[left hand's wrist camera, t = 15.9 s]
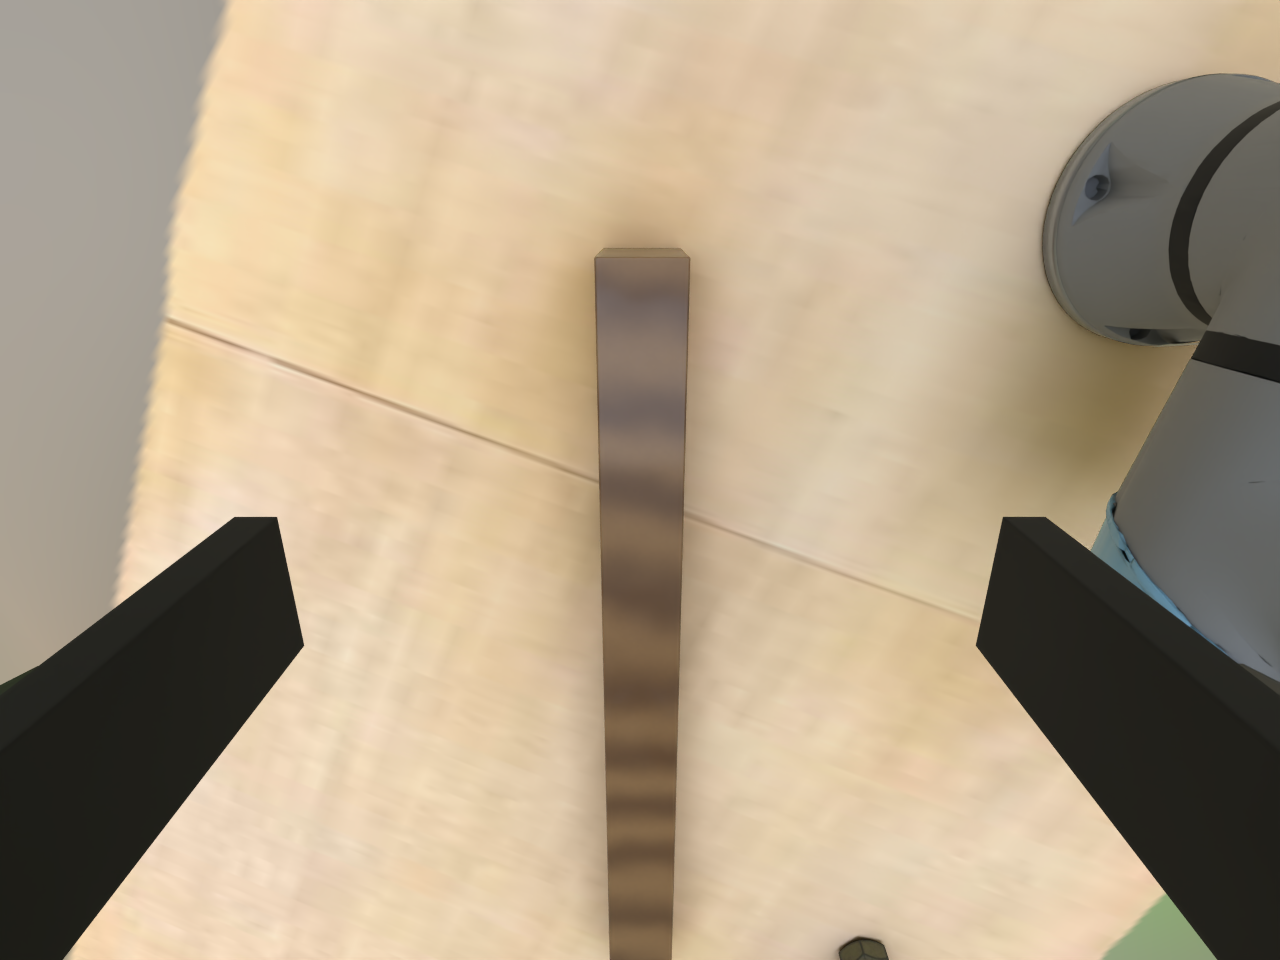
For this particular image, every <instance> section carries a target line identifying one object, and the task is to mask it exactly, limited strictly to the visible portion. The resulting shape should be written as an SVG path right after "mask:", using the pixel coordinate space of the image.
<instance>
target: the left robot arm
mask: <svg viewBox="0 0 1280 960" xmlns="http://www.w3.org/2000/svg"><path fill="white" fill-rule="evenodd" d="M1043 259H1044V265H1045V271H1046V275H1047V278H1048V282H1049V284H1050V287H1051V289H1052V291H1053V293H1054V295H1055V297H1056V299H1057V301H1058V302H1059V304H1060V305H1061V306H1062V308H1063V309H1064V310H1065V311H1066V313H1067V314H1068V315H1069V316H1070V317H1071V318H1072V319H1074V320H1075V321H1076V322H1077V323H1078V324H1080V325H1081V326H1083V327H1084V328H1086V329H1087V330H1089V331H1091V332H1093V333H1095V334H1097V335H1100V336H1103V337H1106V338H1109V339H1113V340H1116V341H1120V342H1124V343H1129V344H1134V345H1143V346H1154V347H1163V346H1183V345H1198V346H1197V348H1196V350H1195V352H1194V354H1193V356H1192V357H1191V358H1192V359H1190V360H1189V362H1188V364H1187V366H1186V367H1185V369H1184V371H1183V373H1182V375H1181V377H1180V378H1179V380H1178V382H1177V384H1176V386H1175V388H1174V390H1173V391H1172V393H1171V395H1170V397H1169V399H1168V401H1167V402H1166V404H1165V406H1164V408H1163V410H1162V412H1161V413H1160V415H1159V417H1158V419H1157V421H1156V423H1155V424H1154V426H1153V428H1152V430H1151V432H1150V434H1149V435H1148V437H1147V439H1146V441H1145V443H1144V445H1143V447H1142V448H1141V450H1140V452H1139V454H1138V456H1137V458H1136V459H1135V461H1134V463H1133V465H1132V467H1131V469H1130V470H1129V472H1128V474H1127V476H1126V478H1125V480H1124V481H1123V483H1122V485H1121V487H1120V489H1119V491H1118V492H1116V493H1114V494H1113V495H1112V496H1111V498H1110V500H1109V502H1108V504H1107V508H1106V519H1105V521H1104V523H1103V525H1102V527H1101V530H1100V532H1099V534H1098V536H1097V538H1096V540H1095V542H1094V545H1093V547H1092V549H1091V551H1089V550H1088V549H1087V548H1085V547H1084V546H1083V545H1082V544H1080V543H1079V542H1078V541H1076V540H1075V539H1074V538H1072V537H1071V536H1070V535H1068V534H1067V533H1066V532H1064V531H1063V530H1062V529H1060V528H1059V527H1058V526H1057V525H1055V524H1054V523H1053V522H1051V521H1050V520H1049V519H1047V518H1046V517H1003V520H1002V524H1001V529H1000V534H999V538H998V543H997V548H996V553H995V557H994V562H993V567H992V572H991V576H990V581H989V586H988V591H987V595H986V600H985V605H984V609H983V614H982V619H981V624H980V628H979V633H978V638H977V643H976V646H977V648H978V649H979V650H980V652H981V653H982V654H983V656H984V657H985V658H986V659H987V661H988V662H989V663H990V665H991V666H992V667H993V669H994V670H995V671H996V672H997V674H998V675H999V676H1000V678H1001V679H1002V680H1003V682H1004V683H1005V684H1006V685H1007V687H1008V688H1009V689H1010V691H1011V692H1012V693H1013V695H1014V696H1015V697H1016V698H1017V700H1018V701H1019V702H1020V704H1021V705H1022V706H1023V708H1024V709H1025V710H1026V711H1027V713H1028V714H1029V715H1030V717H1031V718H1032V719H1033V721H1034V722H1035V723H1036V724H1037V726H1038V727H1039V728H1040V730H1041V731H1042V732H1043V734H1044V735H1045V736H1046V737H1047V739H1048V740H1049V741H1050V743H1051V744H1052V745H1053V747H1054V748H1055V749H1056V750H1057V752H1058V753H1059V754H1060V756H1061V757H1062V758H1063V760H1064V761H1065V762H1066V763H1067V765H1068V766H1069V767H1070V769H1071V770H1072V771H1073V773H1074V774H1075V775H1076V776H1077V778H1078V779H1079V780H1080V782H1081V783H1082V784H1083V786H1084V787H1085V788H1086V789H1087V791H1088V792H1089V793H1090V795H1091V796H1092V797H1093V799H1094V800H1095V801H1096V802H1097V804H1098V805H1099V806H1100V808H1101V809H1102V810H1103V812H1104V813H1105V814H1106V816H1107V817H1108V818H1109V819H1110V821H1111V822H1112V823H1113V825H1114V826H1115V827H1116V829H1117V830H1118V831H1119V832H1120V834H1121V835H1122V836H1123V838H1124V839H1125V840H1126V842H1127V843H1128V844H1129V845H1130V847H1131V848H1132V849H1133V851H1134V852H1135V853H1136V855H1137V856H1138V857H1139V858H1140V860H1141V861H1142V862H1143V864H1144V865H1145V866H1146V868H1147V869H1148V870H1149V871H1150V873H1151V874H1152V875H1153V877H1154V878H1155V879H1156V881H1157V882H1158V883H1159V884H1160V886H1161V887H1162V888H1163V890H1164V891H1165V892H1166V894H1167V895H1168V896H1169V897H1170V899H1171V900H1172V901H1173V903H1174V904H1175V905H1176V907H1177V908H1178V909H1179V910H1180V912H1181V913H1182V914H1183V916H1184V917H1185V918H1186V920H1187V921H1188V922H1189V923H1190V925H1191V926H1192V927H1193V929H1194V930H1195V931H1196V932H1197V934H1198V935H1199V936H1200V938H1201V939H1202V940H1203V942H1204V943H1205V944H1206V946H1207V947H1208V948H1209V949H1210V951H1211V952H1212V953H1213V955H1214V956H1215V957H1216V959H1217V960H1280V83H1275V82H1273V81H1271V80H1268V79H1265V78H1262V77H1258V76H1253V75H1246V74H1210V75H1203V76H1198V77H1192V78H1188V79H1184V80H1180V81H1176V82H1172V83H1169V84H1165V85H1162V86H1159V87H1157V88H1154V89H1152V90H1150V91H1147V92H1145V93H1143V94H1141V95H1139V96H1137V97H1136V98H1134V99H1132V100H1131V101H1129V102H1127V103H1126V104H1124V105H1123V106H1121V107H1120V108H1119V109H1117V110H1116V111H1115V112H1113V113H1112V114H1111V115H1109V116H1108V117H1107V118H1106V119H1105V120H1104V121H1103V122H1101V123H1100V124H1099V125H1098V126H1097V127H1096V128H1095V129H1094V130H1093V131H1092V132H1091V133H1090V134H1089V135H1088V137H1087V138H1086V139H1085V140H1084V141H1083V143H1082V144H1081V145H1080V146H1079V148H1078V149H1077V150H1076V152H1075V153H1074V155H1073V156H1072V157H1071V159H1070V160H1069V162H1068V164H1067V165H1066V167H1065V169H1064V170H1063V172H1062V174H1061V176H1060V178H1059V180H1058V182H1057V184H1056V187H1055V189H1054V192H1053V194H1052V197H1051V200H1050V203H1049V207H1048V210H1047V215H1046V219H1045V225H1044V233H1043ZM1195 341H1200V343H1189V342H1195ZM1183 343H1185V344H1183ZM303 646H304V643H303V638H302V633H301V628H300V624H299V619H298V614H297V609H296V605H295V600H294V595H293V591H292V586H291V581H290V576H289V572H288V567H287V562H286V557H285V553H284V548H283V543H282V538H281V534H280V529H279V524H278V520H277V517H234V518H233V519H231V520H230V521H229V522H227V523H226V524H225V525H223V526H222V527H221V528H220V529H218V530H217V531H216V532H214V533H213V534H212V535H210V536H209V537H208V538H206V539H205V540H204V541H202V542H201V543H200V544H198V545H197V546H196V547H195V548H193V549H192V550H191V551H189V552H188V553H187V554H185V555H184V556H183V557H181V558H180V559H179V560H177V561H176V562H175V563H173V564H172V565H171V566H170V567H168V568H167V569H166V570H164V571H163V572H162V573H160V574H159V575H158V576H156V577H155V578H154V579H152V580H151V581H150V582H149V583H147V584H146V585H145V586H143V587H142V588H141V589H139V590H138V591H137V592H135V593H134V594H133V595H131V596H130V597H129V598H127V599H126V600H125V601H124V602H122V603H121V604H120V605H118V606H117V607H116V608H114V609H113V610H112V611H110V612H109V613H108V614H106V615H105V616H104V617H103V618H101V619H100V620H99V621H97V622H96V623H95V624H93V625H92V626H91V627H89V628H88V629H87V630H85V631H84V632H83V633H82V634H80V635H79V636H78V637H76V638H75V639H74V640H72V641H71V642H70V643H68V644H67V645H66V646H64V647H63V648H62V649H60V650H59V651H58V652H57V653H55V654H54V655H53V656H51V657H50V658H49V659H47V660H46V661H45V662H43V663H42V664H41V665H39V666H37V667H35V668H33V669H31V670H29V671H27V672H25V673H23V674H21V675H19V676H17V677H15V678H13V679H12V680H10V681H8V682H6V683H4V684H2V685H0V960H63V959H64V957H65V956H66V955H67V953H68V952H69V951H70V949H71V948H72V947H73V946H74V944H75V943H76V942H77V940H78V939H79V938H80V936H81V935H82V934H83V933H84V931H85V930H86V929H87V927H88V926H89V925H90V923H91V922H92V921H93V920H94V918H95V917H96V916H97V914H98V913H99V912H100V910H101V909H102V908H103V907H104V905H105V904H106V903H107V901H108V900H109V899H110V897H111V896H112V895H113V894H114V892H115V891H116V890H117V888H118V887H119V886H120V884H121V883H122V882H123V881H124V879H125V878H126V877H127V875H128V874H129V873H130V871H131V870H132V869H133V868H134V866H135V865H136V864H137V862H138V861H139V860H140V858H141V857H142V856H143V855H144V853H145V852H146V851H147V849H148V848H149V847H150V845H151V844H152V843H153V842H154V840H155V839H156V838H157V836H158V835H159V834H160V832H161V831H162V830H163V829H164V827H165V826H166V825H167V823H168V822H169V821H170V819H171V818H172V817H173V816H174V814H175V813H176V812H177V810H178V809H179V808H180V806H181V805H182V804H183V802H184V801H185V800H186V799H187V797H188V796H189V795H190V793H191V792H192V791H193V789H194V788H195V787H196V786H197V784H198V783H199V782H200V780H201V779H202V778H203V776H204V775H205V774H206V773H207V771H208V770H209V769H210V767H211V766H212V765H213V763H214V762H215V761H216V760H217V758H218V757H219V756H220V754H221V753H222V752H223V750H224V749H225V748H226V747H227V745H228V744H229V743H230V741H231V740H232V739H233V737H234V736H235V735H236V734H237V732H238V731H239V730H240V728H241V727H242V726H243V724H244V723H245V722H246V721H247V719H248V718H249V717H250V715H251V714H252V713H253V711H254V710H255V709H256V708H257V706H258V705H259V704H260V702H261V701H262V700H263V698H264V697H265V696H266V695H267V693H268V692H269V691H270V689H271V688H272V687H273V685H274V684H275V683H276V682H277V680H278V679H279V678H280V676H281V675H282V674H283V672H284V671H285V670H286V669H287V667H288V666H289V665H290V663H291V662H292V661H293V659H294V658H295V657H296V656H297V654H298V653H299V652H300V650H301V649H302V648H303Z"/></svg>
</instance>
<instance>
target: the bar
mask: <svg viewBox="0 0 1280 960" xmlns="http://www.w3.org/2000/svg"><path fill="white" fill-rule="evenodd" d="M594 262H595V307H596V353H597V398H598V444H599V489H600V535H601V580H602V625H603V671H604V716H605V762H606V807H607V853H608V898H609V944H610V960H672V925H673V888H674V850H675V812H676V774H677V737H678V699H679V661H680V623H681V586H682V548H683V510H684V472H685V435H686V397H687V359H688V321H689V284H690V257H689V256H688V255H687V254H686V253H685V252H684V251H683V250H682V249H677V248H604V249H602V250H601V251H600V252H599V254H598V255H597V256H596V257H595V259H594Z"/></svg>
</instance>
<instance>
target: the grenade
mask: <svg viewBox="0 0 1280 960" xmlns="http://www.w3.org/2000/svg"><path fill="white" fill-rule="evenodd" d="M839 956H840V960H889V959H888V956H887V953H886V950H885V947H884V945H883V944H880V943H878V942H875V941H872V940H859V941H855V942H852V943H850V944H848V945H847V946H845V947H844V948H843V949H842V950H841V951H840V952H839Z"/></svg>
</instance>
